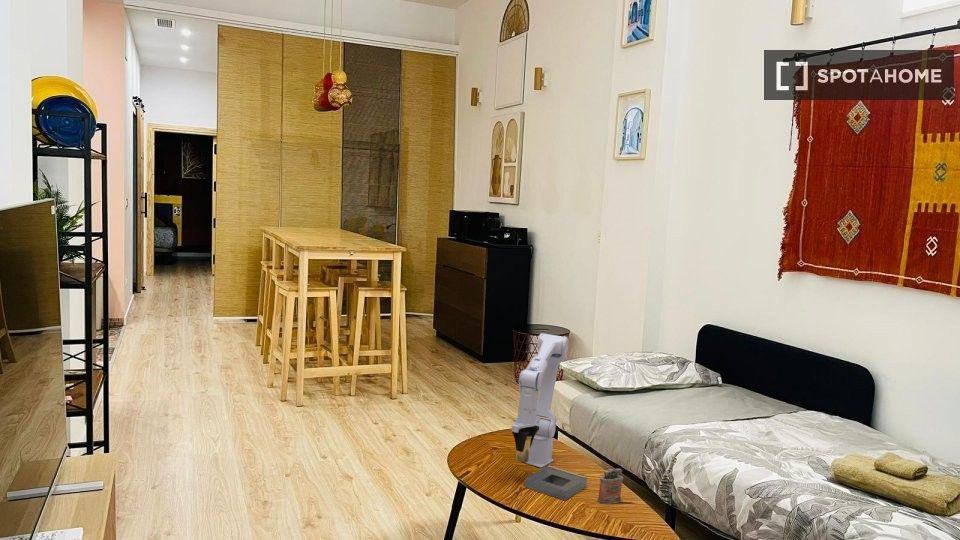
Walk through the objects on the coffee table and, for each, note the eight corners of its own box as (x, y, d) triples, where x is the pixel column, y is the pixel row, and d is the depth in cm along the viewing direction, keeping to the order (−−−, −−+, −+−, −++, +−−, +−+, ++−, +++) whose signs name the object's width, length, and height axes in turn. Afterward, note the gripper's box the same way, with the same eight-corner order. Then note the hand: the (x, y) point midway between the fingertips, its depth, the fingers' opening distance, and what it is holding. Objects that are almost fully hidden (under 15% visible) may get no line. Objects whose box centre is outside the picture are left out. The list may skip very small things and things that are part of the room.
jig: (547, 474, 241) (548, 464, 241) (586, 486, 233) (587, 476, 233) (524, 487, 228) (525, 476, 228) (565, 500, 221) (566, 490, 221)
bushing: (519, 456, 236) (522, 432, 235) (531, 460, 234) (534, 435, 233) (512, 459, 232) (515, 435, 232) (524, 463, 230) (527, 438, 229)
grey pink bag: (601, 504, 221) (605, 472, 219) (595, 500, 223) (598, 468, 222) (622, 501, 224) (626, 470, 223) (616, 497, 227) (619, 466, 226)
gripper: (527, 400, 240) (523, 440, 241) (505, 409, 228) (500, 451, 229) (547, 405, 236) (542, 446, 237) (524, 414, 224) (520, 457, 225)
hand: (523, 449), depth 233 cm, fingers closed on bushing, 4 cm apart
